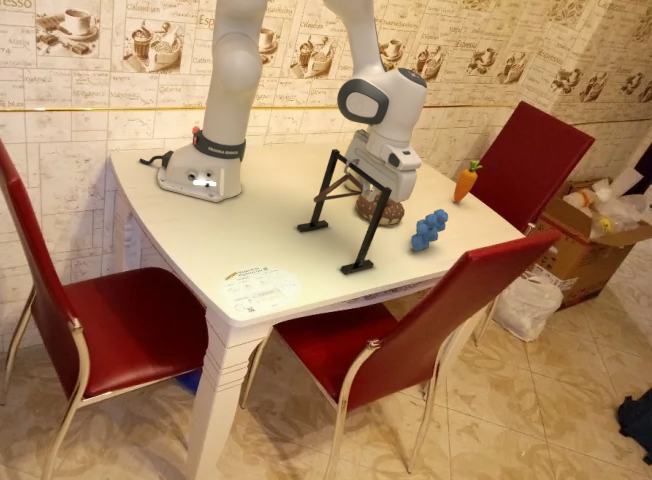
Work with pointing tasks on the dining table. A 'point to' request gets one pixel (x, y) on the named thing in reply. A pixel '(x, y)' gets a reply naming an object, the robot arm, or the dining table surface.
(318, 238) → the dining table surface
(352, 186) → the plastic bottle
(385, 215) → the donut
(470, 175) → the carrot
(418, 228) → the grapes
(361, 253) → the rail
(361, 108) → the robot arm
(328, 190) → the hanger
